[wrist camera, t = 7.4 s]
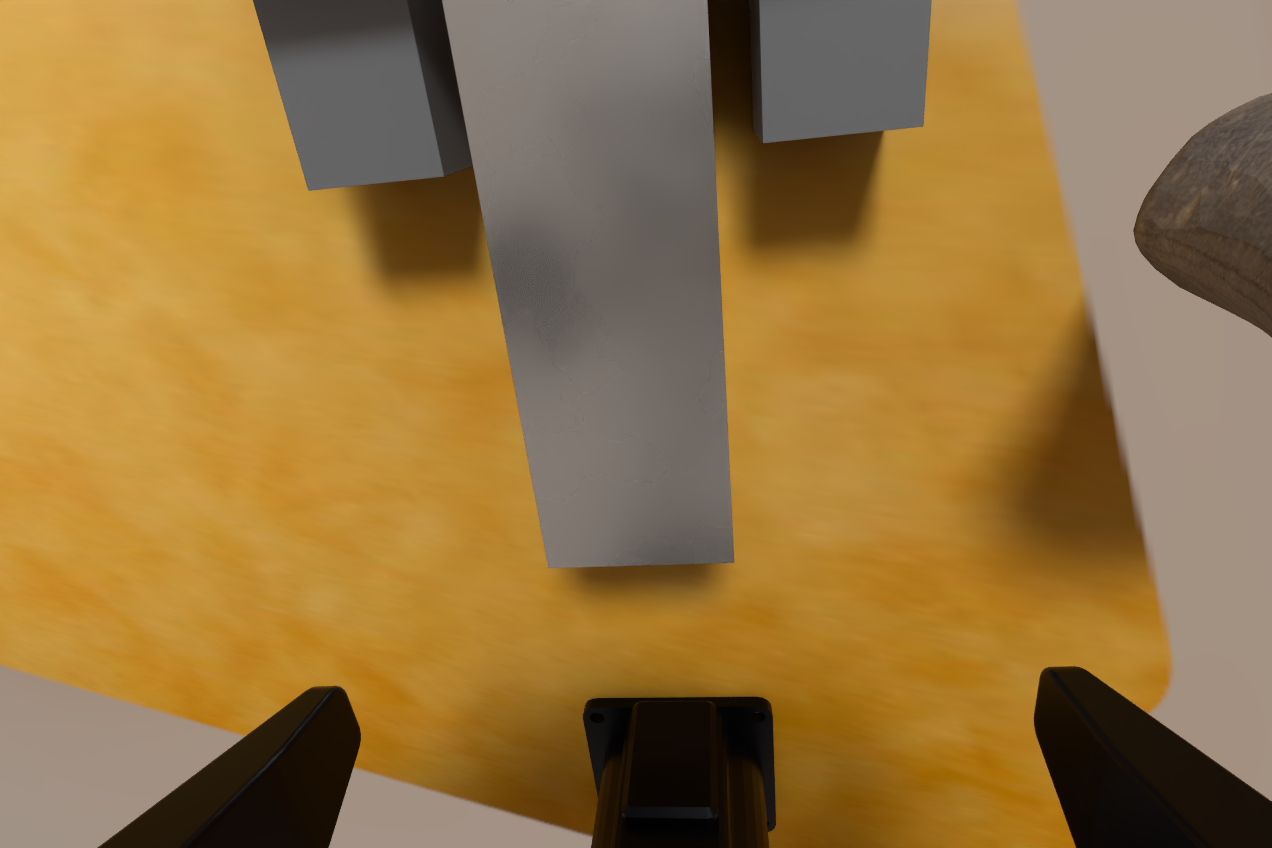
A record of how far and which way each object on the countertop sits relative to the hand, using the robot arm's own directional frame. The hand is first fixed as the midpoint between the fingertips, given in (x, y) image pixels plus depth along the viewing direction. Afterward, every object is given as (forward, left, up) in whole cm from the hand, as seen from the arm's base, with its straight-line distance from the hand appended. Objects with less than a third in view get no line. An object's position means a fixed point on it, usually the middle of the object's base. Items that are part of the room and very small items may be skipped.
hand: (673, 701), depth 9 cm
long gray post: (+3, +1, -12) cm, 12 cm away
